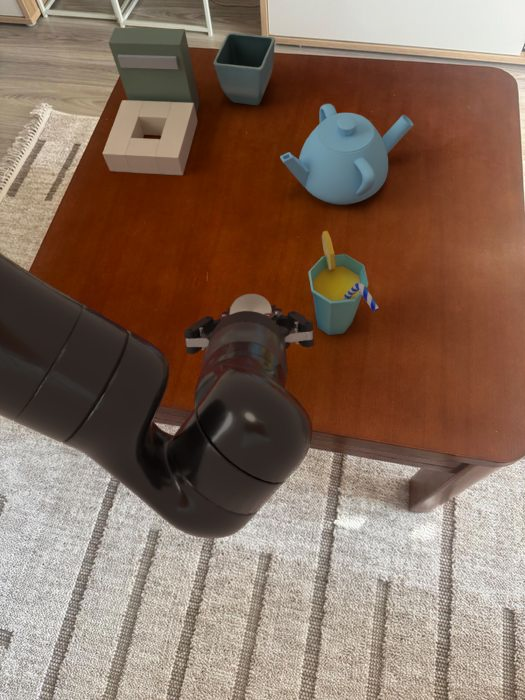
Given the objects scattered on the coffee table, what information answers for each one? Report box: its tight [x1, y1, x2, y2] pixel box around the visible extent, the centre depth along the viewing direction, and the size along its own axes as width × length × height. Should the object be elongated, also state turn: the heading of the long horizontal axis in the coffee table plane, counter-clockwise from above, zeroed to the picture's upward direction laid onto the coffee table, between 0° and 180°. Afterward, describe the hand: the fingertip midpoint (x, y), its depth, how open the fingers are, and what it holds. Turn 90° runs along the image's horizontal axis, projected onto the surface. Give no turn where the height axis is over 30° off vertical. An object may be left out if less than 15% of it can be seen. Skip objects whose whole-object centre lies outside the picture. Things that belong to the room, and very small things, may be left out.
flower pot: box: [213, 32, 276, 106], centre depth 94 cm, size 9×9×9 cm
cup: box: [308, 230, 380, 336], centre depth 69 cm, size 14×8×15 cm, turn 28°
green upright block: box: [108, 27, 200, 115], centre depth 92 cm, size 12×4×14 cm, turn 82°
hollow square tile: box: [102, 99, 199, 176], centre depth 92 cm, size 13×13×4 cm
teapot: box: [279, 103, 414, 206], centre depth 83 cm, size 15×17×11 cm
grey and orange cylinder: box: [229, 293, 272, 315], centre depth 64 cm, size 5×5×9 cm
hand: (252, 314), depth 64 cm, fingers closed on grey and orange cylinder, 4 cm apart
